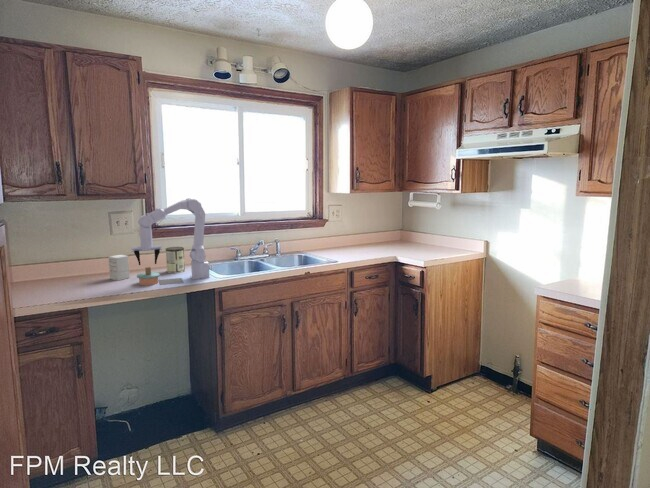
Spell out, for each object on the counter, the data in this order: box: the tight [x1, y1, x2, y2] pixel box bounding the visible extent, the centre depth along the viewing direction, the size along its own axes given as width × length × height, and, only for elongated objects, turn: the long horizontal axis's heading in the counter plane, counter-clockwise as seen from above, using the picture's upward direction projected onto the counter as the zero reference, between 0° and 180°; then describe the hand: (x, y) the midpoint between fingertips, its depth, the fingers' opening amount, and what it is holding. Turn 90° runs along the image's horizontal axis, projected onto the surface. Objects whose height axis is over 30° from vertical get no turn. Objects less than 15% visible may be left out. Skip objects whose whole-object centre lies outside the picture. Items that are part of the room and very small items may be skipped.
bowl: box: [138, 276, 159, 286], centre depth 223 cm, size 9×9×4 cm
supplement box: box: [107, 254, 130, 281], centre depth 233 cm, size 7×7×13 cm
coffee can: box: [165, 246, 186, 274], centre depth 251 cm, size 10×10×14 cm
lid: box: [136, 266, 161, 279], centre depth 223 cm, size 11×11×5 cm
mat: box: [158, 277, 185, 286], centre depth 227 cm, size 12×12×1 cm
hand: (147, 264), depth 222 cm, fingers open, 7 cm apart
